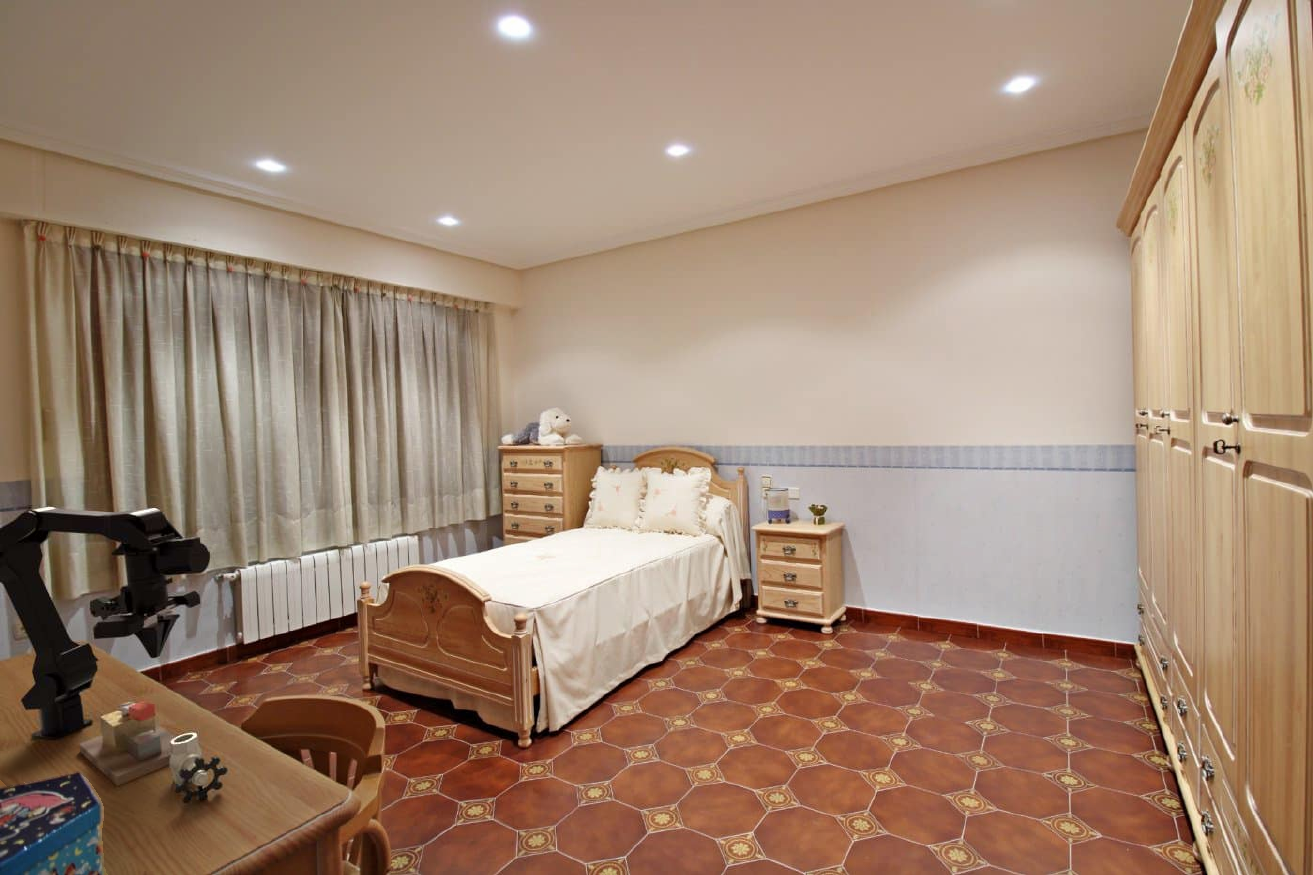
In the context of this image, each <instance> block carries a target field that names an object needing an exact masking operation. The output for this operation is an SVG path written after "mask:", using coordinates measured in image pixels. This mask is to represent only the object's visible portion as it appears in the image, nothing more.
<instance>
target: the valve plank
mask: <svg viewBox="0 0 1313 875" xmlns="http://www.w3.org/2000/svg"><path fill="white" fill-rule="evenodd" d="M155 727H156V733H157V734H159V735H160V741H161V751H162V753H159V754H157V755H154V756H152V757H150V758H147V759H145V760H142V761H138V760H137V759H136V758H134V757H133V756H132V755H131V754H129V753H128V752H127V751H126V752H124V753H121V754H118V755H116V754H114V753H113V752H112V751H111V750H109V749H108V748H107V747H106V746H104V745H103V739H102V734H101V735H99V736H96V737H93V738H91V739H88V740H85V741H82V742H79V743H78V748H79V753H80V754H81V755H83V757H85V758H86V759H87V760H88V761H89V762H90V763H91V764H92V765H94V766H95V767H96V768H97V769H98V770H99V771H100V772H102V773H103V774H104V775H105V776H106V777H107V778H108V779H109V780H111V781H112V782H113V783H114V784H115V785H116V786H118V787H119V786H121V785H123V784H125V783H127V782H128V783H129V782H130V781H133V780H135V779H138V778H140V777H143V776H144V775H147V774H149V773H152V772H154V771H156V770H159V769H161V768H163V767H167V766H168V765H169V759H170V756H171V754H172V752H171V750H170V741H171V740H173V739H174V738H176V737H177V735H174V734H173V733H171V732H170V731H169V730H168V729H165V728H164V727H162V726H161V725H159V724H158V723H157V722H155Z"/></svg>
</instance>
